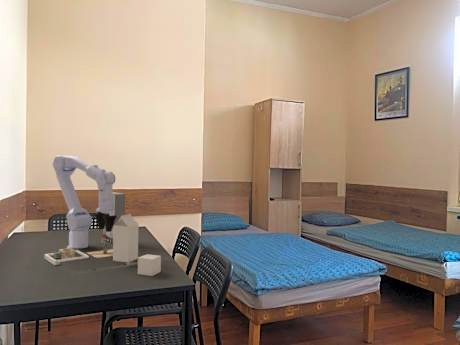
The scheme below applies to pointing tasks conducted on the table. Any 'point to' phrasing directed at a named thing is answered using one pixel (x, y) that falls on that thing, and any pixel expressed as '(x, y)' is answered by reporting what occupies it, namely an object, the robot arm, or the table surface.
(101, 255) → the tan base plate
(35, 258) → the table surface
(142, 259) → the white cube
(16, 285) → the table surface
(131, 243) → the milk carton
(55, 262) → the tray
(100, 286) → the table surface
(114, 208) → the tall grey upright box
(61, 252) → the collar
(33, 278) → the table surface
